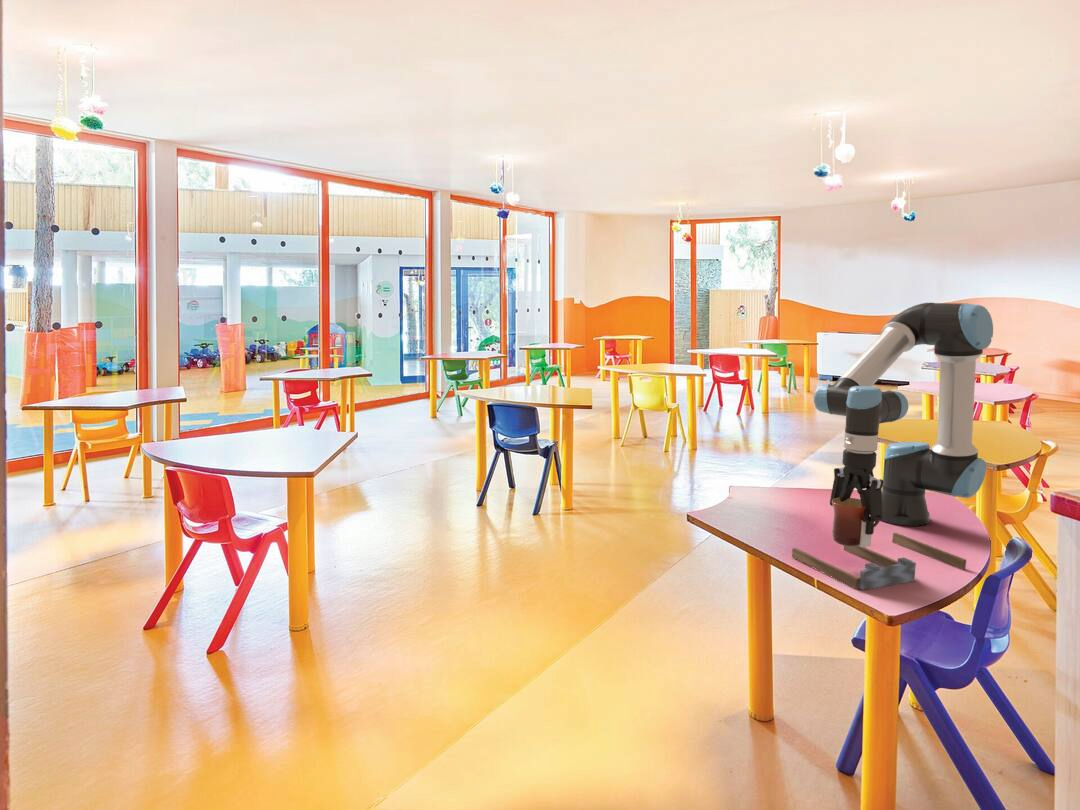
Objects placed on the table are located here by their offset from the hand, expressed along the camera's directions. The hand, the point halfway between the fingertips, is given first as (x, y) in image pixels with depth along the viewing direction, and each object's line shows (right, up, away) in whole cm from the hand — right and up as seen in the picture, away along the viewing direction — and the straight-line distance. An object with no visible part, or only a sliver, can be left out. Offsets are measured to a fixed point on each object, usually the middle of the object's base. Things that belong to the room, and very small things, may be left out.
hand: (852, 540), depth 193 cm
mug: (0, 0, 0) cm, 1 cm away
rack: (+8, -6, +4) cm, 11 cm away
